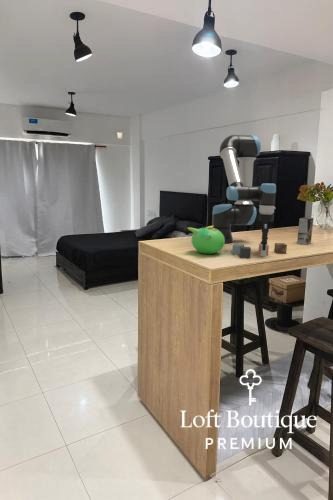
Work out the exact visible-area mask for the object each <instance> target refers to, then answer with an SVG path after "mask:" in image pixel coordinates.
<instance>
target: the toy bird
mask: <svg viewBox="0 0 333 500" xmlns="http://www.w3.org/2000/svg"><path fill="white" fill-rule="evenodd" d="M212 227H213V226H212V225H209V226H205V227H204V226H203V227H201V228H194V227H187V228H186V229H187V230H188V231H190V232H192V235H191V238H190V239H191V244H192V246H193V248H194V249H195V250H196V251H198V252H199V253H201V254H205V255H207V254H208V255H213V254H215V253H216V254H217V253H218V252H220V251H221V250H222V249H223V248H224V247H225V244H226V243H225V239H224V236H223V234H222V233H221V232H220V231H219V230H217V229H215V228H212Z"/></svg>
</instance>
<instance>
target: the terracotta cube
mask: <svg viewBox="0 0 333 500" xmlns="http://www.w3.org/2000/svg"><path fill="white" fill-rule="evenodd" d="M269 249H270V246H269V244H268V243H267V251H266V256H268V255H269ZM257 254H258V255H259V256H261V244H260V243H258V252H257Z"/></svg>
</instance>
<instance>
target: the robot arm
mask: <svg viewBox="0 0 333 500" xmlns="http://www.w3.org/2000/svg"><path fill="white" fill-rule="evenodd" d="M261 149H262V148H261V140H260V139H259V137H258V136H256V135H251V134H249V135H247V134H231V135H229V136H226V137H225V139H223V141H222V142H221V144H220V146H219V156H220V159H222V162H223V166H224V170H225V175H226V178H227V182H228V187H227V188H226V193H225V194H226V198H227V200H229V201H235V202H234V205H233V204H231V203H223V204H222V203H220V204H217V205H214V206H213V207H212V212H211V213H212V214H211V215H212V217H211V218H212V219H211V221H212V222H211V226H213V227H212V228H215V229H217V230H219V231H220V232H221V233H222V234H223V236H224V239H225V243H224V244H231V243H233V241H234V239H233V237H234V236H233V234H232V230H231V226H250V225H253V224H254V223H255V220H256V219H257V218H256V217H257V207H255V205H254V203H253V202H257V201H259V205H258V207H259V209H258V213H259V214H258V221H259V222H262V223H261V241H260V243H259V244H261V255H260V257H267V255H266V251H267V244H268V240H269V237H268V233H269V231H270V230H269V229H270V224H269V223H270V222H273V221H274V219H275V218H274V217H275V215H274V213H275V210H276V206H275V204H276V193H277V185H276V183H270V182H269V183H266V182H265V183H262V184H261V185H260V186H253V177H254V162H255V160H256V159H257V156H259V155H260V153H261ZM238 162H239V163H238ZM252 201H253V202H252Z"/></svg>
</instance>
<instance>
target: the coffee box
mask: <svg viewBox="0 0 333 500" xmlns="http://www.w3.org/2000/svg"><path fill="white" fill-rule="evenodd" d="M314 219H315V218H313V217H300V218H299V222H298V230H297V231H298V232H297V241H296V244H297V245H304V246H308V245H310V244H311V243H312V235H313V227H314Z"/></svg>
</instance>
